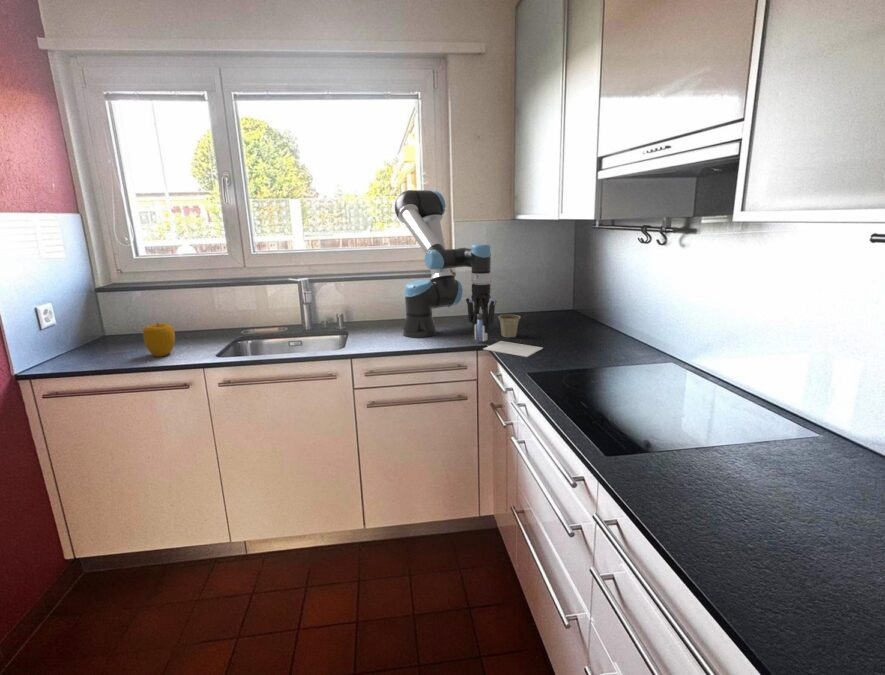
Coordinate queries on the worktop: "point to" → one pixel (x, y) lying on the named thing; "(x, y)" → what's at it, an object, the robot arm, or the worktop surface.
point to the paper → (513, 348)
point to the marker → (479, 327)
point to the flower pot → (509, 325)
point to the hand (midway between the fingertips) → (480, 339)
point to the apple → (159, 339)
